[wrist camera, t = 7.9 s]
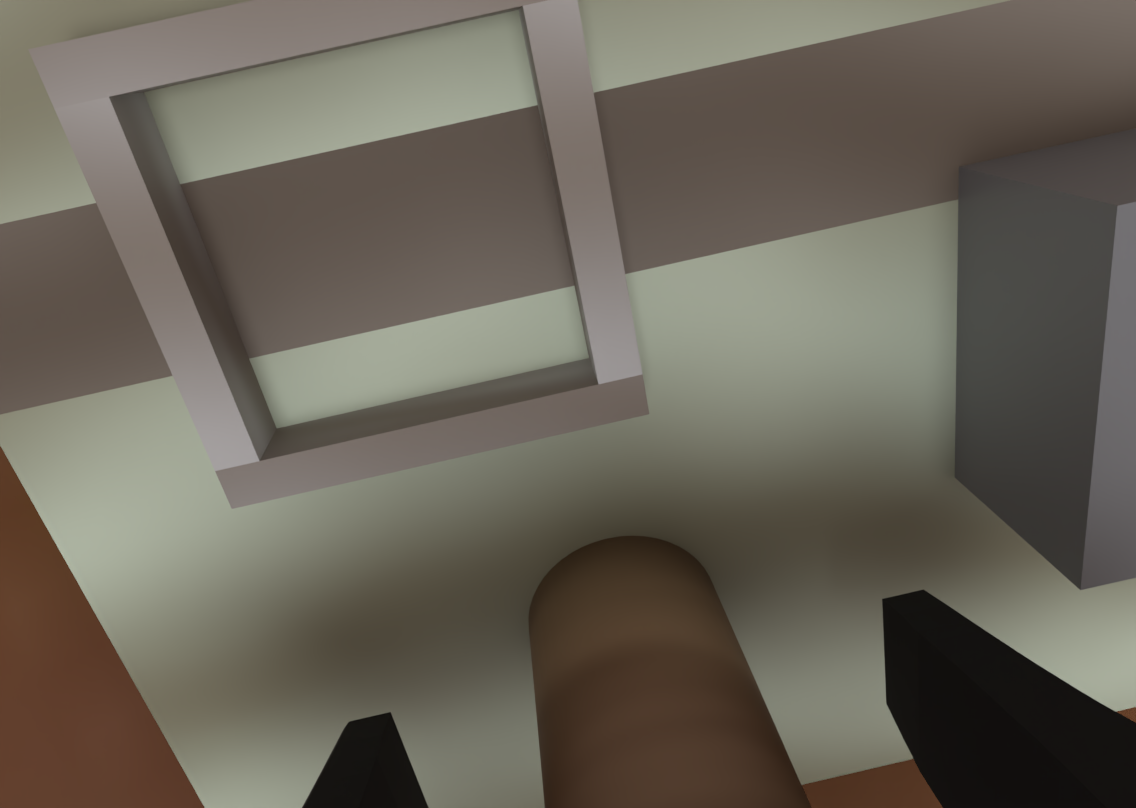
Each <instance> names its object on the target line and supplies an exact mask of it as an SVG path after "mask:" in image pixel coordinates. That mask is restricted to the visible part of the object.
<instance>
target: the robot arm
mask: <svg viewBox="0 0 1136 808" xmlns="http://www.w3.org/2000/svg"><path fill="white" fill-rule="evenodd" d="M882 607H883V632H884V658H885V683H886V704H887V706H888V708H889V710H890V712H891V714H892V716H893V718H894V721H895V723H896V725H897V727H898V729H899V731H900V733H901V735H902V737H903V739H904V741H905V743H906V745H907V747H908V749H909V751H910V753H911V755H912V757H913V759H914V761H915V763H916V764H917V766H918V768H919V770H920V772H921V774H922V775H923V777H924V778H925V780H926V782H927V783H928V785H929V786H930V788H931V790H932V791H933V793H934V794H935V796H936V797H937V799H938V800H939V802H940V803H941V805H942V807H943V808H1136V723H1135V722H1133V721H1131V720H1130V719H1128V718H1126V717H1124V716H1122V715H1121V714H1119V713H1117V712H1115V711H1114V710H1112V709H1110V708H1108V707H1106V706H1105V705H1103V704H1101V703H1099V702H1098V701H1096V700H1094V699H1093V698H1091V697H1089V696H1088V695H1086V694H1084V693H1083V692H1081V691H1079V690H1078V689H1076V688H1074V687H1073V686H1071V685H1070V684H1068V683H1066V682H1065V681H1063V680H1062V679H1060V678H1058V677H1057V676H1055V675H1054V674H1052V673H1050V672H1049V671H1047V670H1046V669H1044V668H1042V667H1041V666H1039V665H1038V664H1036V663H1034V662H1033V661H1031V660H1030V659H1028V658H1027V657H1025V656H1023V655H1022V654H1020V653H1019V652H1017V651H1016V650H1014V649H1013V648H1011V647H1010V646H1008V645H1007V644H1005V643H1004V642H1002V641H1000V640H999V639H997V638H996V637H994V636H993V635H991V634H990V633H988V632H987V631H985V630H984V629H982V628H981V627H979V626H978V625H976V624H975V623H973V622H972V621H970V620H969V619H967V618H966V617H964V616H963V615H961V614H960V613H958V612H957V611H955V610H954V609H952V608H951V607H949V606H948V605H946V604H945V603H943V602H942V601H940V600H939V599H937V598H936V597H934V596H933V595H931V594H930V593H928V592H927V591H925V590H924V589H923V590H919V591H914V592H910V593H906V594H901V595H897V596H893V597H888V598H884V599H882ZM302 808H429V807H428V805H427V802H426V800H425V797H424V795H423V792H422V790H421V787H420V785H419V782H418V780H417V777H416V775H415V772H414V770H413V767H412V765H411V762H410V760H409V757H408V755H407V752H406V750H405V747H404V745H403V742H402V739H401V737H400V734H399V732H398V729H397V727H396V724H395V722H394V719H393V717H392V714H391V712H388V713H384V714H380V715H375V716H371V717H366V718H362V719H358V720H353V721H349V722H348V724H347V725H346V726H345V728H344V729H343V731H342V733H341V735H340V737H339V739H338V741H337V743H336V745H335V746H334V748H333V750H332V752H331V754H330V756H329V758H328V760H327V762H326V764H325V766H324V768H323V769H322V771H321V773H320V775H319V777H318V779H317V781H316V783H315V785H314V786H313V788H312V790H311V792H310V794H309V796H308V798H307V799H306V801H305V803H304V805H303V807H302Z"/></svg>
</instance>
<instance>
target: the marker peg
mask: <svg viewBox="0 0 1136 808" xmlns="http://www.w3.org/2000/svg"><path fill="white" fill-rule="evenodd" d="M528 619H529V636H530V648H531V659H532V670H533V681H534V693H535V704H536V715H537V726H538V737H539V749H540V760H541V771H542V782H543V794H544V805H545V808H811V806H810V803H809V801H808V799H807V796H806V794H805V792H804V790H803V787H802V785H801V783H800V781H799V778H798V776H797V774H796V771H795V769H794V767H793V765H792V762H791V760H790V758H789V756H788V753H787V751H786V749H785V747H784V744H783V742H782V740H781V737H780V735H779V733H778V731H777V728H776V726H775V724H774V722H773V719H772V717H771V715H770V712H769V710H768V708H767V706H766V703H765V701H764V699H763V697H762V694H761V692H760V690H759V688H758V685H757V683H756V681H755V678H754V676H753V674H752V672H751V669H750V667H749V665H748V663H747V660H746V658H745V656H744V653H743V651H742V649H741V647H740V644H739V642H738V640H737V638H736V635H735V633H734V631H733V629H732V626H731V624H730V622H729V619H728V617H727V615H726V613H725V610H724V608H723V606H722V604H721V601H720V599H719V597H718V594H717V592H716V590H715V588H714V585H713V583H712V581H711V579H710V576H709V575H708V573H707V571H706V570H705V568H704V567H703V566H702V565H701V563H700V562H699V561H698V560H697V559H696V558H695V557H693V556H692V555H691V554H690V553H689V552H687V551H685V550H684V549H682V548H681V547H679V546H677V545H675V544H672V543H670V542H667V541H664V540H661V539H658V538H652V537H646V536H619V537H613V538H607V539H603V540H600V541H596V542H593V543H591V544H588V545H586V546H583V547H581V548H579V549H578V550H576V551H574V552H572V553H570V554H569V555H568V556H566V557H565V558H563V559H562V560H561V561H559V562H558V563H557V564H556V565H555V566H554V567H553V568H552V569H551V570H550V571H549V572H548V573H547V575H546V576H545V577H544V578H543V580H542V581H541V583H540V584H539V586H538V587H537V590H536V592H535V594H534V596H533V599H532V602H531V605H530V610H529V617H528Z"/></svg>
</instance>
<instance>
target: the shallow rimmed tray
mask: <svg viewBox="0 0 1136 808" xmlns="http://www.w3.org/2000/svg"><path fill="white" fill-rule="evenodd" d="M1131 129H1136V0H0V446H1V448H2V449H3V451H4V453H5V455H6V456H7V458H8V460H9V462H10V463H11V465H12V467H13V469H14V471H15V472H16V474H17V476H18V478H19V479H20V481H21V483H22V485H23V486H24V488H25V490H26V492H27V494H28V495H29V497H30V499H31V501H32V502H33V504H34V506H35V508H36V510H37V511H38V513H39V515H40V517H41V518H42V520H43V522H44V524H45V525H46V527H47V529H48V531H49V533H50V534H51V536H52V538H53V540H54V541H55V543H56V545H57V547H58V549H59V550H60V552H61V554H62V556H63V557H64V559H65V561H66V563H67V564H68V566H69V568H70V570H71V572H72V573H73V575H74V577H75V579H76V580H77V582H78V584H79V586H80V587H81V589H82V591H83V593H84V595H85V596H86V598H87V600H88V602H89V603H90V605H91V607H92V609H93V611H94V612H95V614H96V616H97V618H98V619H99V621H100V623H101V625H102V626H103V628H104V630H105V632H106V634H107V635H108V637H109V639H110V641H111V642H112V644H113V646H114V648H115V649H116V651H117V653H118V655H119V657H120V658H121V660H122V662H123V664H124V665H125V667H126V669H127V671H128V673H129V674H130V676H131V678H132V680H133V681H134V683H135V685H136V687H137V688H138V690H139V692H140V694H141V696H142V697H143V699H144V701H145V703H146V704H147V706H148V708H149V710H150V711H151V713H152V715H153V717H154V719H155V720H156V722H157V724H158V726H159V727H160V729H161V731H162V733H163V735H164V736H165V738H166V740H167V742H168V743H169V745H170V747H171V749H172V750H173V752H174V754H175V756H176V758H177V759H178V761H179V763H180V765H181V766H182V768H183V770H184V772H185V773H186V775H187V777H188V779H189V781H190V782H191V784H192V786H193V788H194V789H195V791H196V793H197V795H198V797H199V798H200V800H201V802H202V804H203V805H204V807H205V808H302V807H303V805H304V803H305V801H306V799H307V798H308V796H309V794H310V792H311V790H312V788H313V786H314V785H315V783H316V781H317V779H318V777H319V775H320V773H321V771H322V769H323V768H324V766H325V764H326V762H327V760H328V758H329V756H330V754H331V752H332V750H333V748H334V746H335V745H336V743H337V741H338V739H339V737H340V735H341V733H342V731H343V729H344V728H345V726H346V725H347V724H348V722H349V721H353V720H358V719H362V718H366V717H371V716H375V715H380V714H384V713H388V712H391V714H392V717H393V719H394V722H395V724H396V727H397V729H398V732H399V734H400V737H401V739H402V742H403V745H404V747H405V750H406V752H407V755H408V757H409V760H410V762H411V765H412V767H413V770H414V772H415V775H416V777H417V780H418V782H419V785H420V787H421V790H422V792H423V795H424V797H425V800H426V802H427V805H428V807H429V808H545V805H544V794H543V782H542V771H541V760H540V749H539V737H538V726H537V715H536V704H535V693H534V681H533V670H532V659H531V648H530V636H529V619H528V617H529V610H530V605H531V602H532V599H533V596H534V594H535V592H536V590H537V587H538V586H539V584H540V583H541V581H542V580H543V578H544V577H545V576H546V575H547V573H548V572H549V571H550V570H551V569H552V568H553V567H554V566H555V565H556V564H557V563H558V562H559V561H561V560H562V559H563V558H565V557H566V556H568V555H569V554H570V553H572V552H574V551H576V550H578V549H579V548H581V547H583V546H586V545H588V544H591V543H593V542H596V541H600V540H603V539H607V538H613V537H619V536H646V537H652V538H658V539H661V540H664V541H667V542H670V543H672V544H675V545H677V546H679V547H681V548H682V549H684V550H685V551H687V552H689V553H690V554H691V555H692V556H693V557H695V558H696V559H697V560H698V561H699V562H700V563H701V565H702V566H703V567H704V568H705V570H706V571H707V573H708V575H709V576H710V579H711V581H712V583H713V585H714V588H715V590H716V592H717V594H718V597H719V599H720V601H721V604H722V606H723V608H724V610H725V613H726V615H727V617H728V619H729V622H730V624H731V626H732V629H733V631H734V633H735V635H736V638H737V640H738V642H739V644H740V647H741V649H742V651H743V653H744V656H745V658H746V660H747V663H748V665H749V667H750V669H751V672H752V674H753V676H754V678H755V681H756V683H757V685H758V688H759V690H760V692H761V694H762V697H763V699H764V701H765V703H766V706H767V708H768V710H769V712H770V715H771V717H772V719H773V722H774V724H775V726H776V728H777V731H778V733H779V735H780V737H781V740H782V742H783V744H784V747H785V749H786V751H787V753H788V756H789V758H790V760H791V762H792V765H793V767H794V769H795V771H796V774H797V776H798V778H799V781H800V783H801V785H803V784H807V783H812V782H816V781H820V780H825V779H829V778H833V777H837V776H842V775H846V774H850V773H855V772H859V771H863V770H867V769H872V768H876V767H880V766H884V765H889V764H893V763H897V762H902V761H906V760H910V759H913V757H912V755H911V753H910V751H909V749H908V747H907V745H906V743H905V741H904V739H903V737H902V735H901V733H900V731H899V729H898V727H897V725H896V723H895V721H894V718H893V716H892V714H891V712H890V710H889V708H888V706H887V704H886V683H885V658H884V632H883V607H882V599H884V598H888V597H893V596H897V595H901V594H906V593H910V592H914V591H919V590H923V589H924V590H925V591H927V592H928V593H930V594H931V595H933V596H934V597H936V598H937V599H939V600H940V601H942V602H943V603H945V604H946V605H948V606H949V607H951V608H952V609H954V610H955V611H957V612H958V613H960V614H961V615H963V616H964V617H966V618H967V619H969V620H970V621H972V622H973V623H975V624H976V625H978V626H979V627H981V628H982V629H984V630H985V631H987V632H988V633H990V634H991V635H993V636H994V637H996V638H997V639H999V640H1000V641H1002V642H1004V643H1005V644H1007V645H1008V646H1010V647H1011V648H1013V649H1014V650H1016V651H1017V652H1019V653H1020V654H1022V655H1023V656H1025V657H1027V658H1028V659H1030V660H1031V661H1033V662H1034V663H1036V664H1038V665H1039V666H1041V667H1042V668H1044V669H1046V670H1047V671H1049V672H1050V673H1052V674H1054V675H1055V676H1057V677H1058V678H1060V679H1062V680H1063V681H1065V682H1066V683H1068V684H1070V685H1071V686H1073V687H1074V688H1076V689H1078V690H1079V691H1081V692H1083V693H1084V694H1086V695H1088V696H1089V697H1091V698H1093V699H1094V700H1096V701H1098V702H1099V703H1101V704H1103V705H1105V706H1106V707H1108V708H1110V709H1112V710H1114V711H1115V712H1116V711H1120V710H1124V709H1128V708H1133V707H1136V578H1133V579H1128V580H1124V581H1119V582H1115V583H1111V584H1106V585H1102V586H1097V587H1093V588H1088V589H1084V590H1080V589H1079V588H1077V587H1076V586H1075V585H1074V584H1073V583H1072V582H1071V581H1070V580H1068V579H1067V578H1066V577H1065V576H1064V575H1063V574H1062V573H1061V572H1060V571H1058V570H1057V569H1056V568H1055V567H1054V566H1053V565H1052V564H1051V563H1050V562H1048V561H1047V560H1046V559H1045V558H1044V557H1043V556H1042V555H1041V554H1039V553H1038V552H1037V551H1036V550H1035V549H1034V548H1033V547H1032V546H1031V545H1029V544H1028V543H1027V542H1026V541H1025V540H1024V539H1023V538H1022V537H1021V536H1019V535H1018V534H1017V533H1016V532H1015V531H1014V530H1013V529H1012V528H1011V527H1009V526H1008V525H1007V524H1006V523H1005V522H1004V521H1003V520H1002V519H1000V518H999V517H998V516H997V515H996V514H995V513H994V512H993V511H992V510H990V509H989V508H988V507H987V506H986V505H985V504H984V503H983V502H982V501H980V500H979V499H978V498H977V497H976V496H975V495H974V494H973V493H971V492H970V491H969V490H968V489H967V488H966V487H965V486H964V485H963V484H961V483H960V482H959V481H958V480H957V479H956V478H955V414H956V339H957V263H958V188H959V167H960V166H965V165H970V164H974V163H979V162H984V161H988V160H993V159H997V158H1002V157H1007V156H1011V155H1016V154H1020V153H1025V152H1030V151H1034V150H1039V149H1044V148H1048V147H1053V146H1057V145H1062V144H1067V143H1071V142H1076V141H1081V140H1085V139H1090V138H1094V137H1099V136H1104V135H1108V134H1113V133H1117V132H1122V131H1127V130H1131Z"/></svg>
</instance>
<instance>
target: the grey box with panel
mask: <svg viewBox="0 0 1136 808" xmlns="http://www.w3.org/2000/svg"><path fill="white" fill-rule="evenodd" d="M955 478H956V479H957V480H958V481H959V482H960V483H961V484H963V485H964V486H965V487H966V488H967V489H968V490H969V491H970V492H971V493H973V494H974V495H975V496H976V497H977V498H978V499H979V500H980V501H982V502H983V503H984V504H985V505H986V506H987V507H988V508H989V509H990V510H992V511H993V512H994V513H995V514H996V515H997V516H998V517H999V518H1000V519H1002V520H1003V521H1004V522H1005V523H1006V524H1007V525H1008V526H1009V527H1011V528H1012V529H1013V530H1014V531H1015V532H1016V533H1017V534H1018V535H1019V536H1021V537H1022V538H1023V539H1024V540H1025V541H1026V542H1027V543H1028V544H1029V545H1031V546H1032V547H1033V548H1034V549H1035V550H1036V551H1037V552H1038V553H1039V554H1041V555H1042V556H1043V557H1044V558H1045V559H1046V560H1047V561H1048V562H1050V563H1051V564H1052V565H1053V566H1054V567H1055V568H1056V569H1057V570H1058V571H1060V572H1061V573H1062V574H1063V575H1064V576H1065V577H1066V578H1067V579H1068V580H1070V581H1071V582H1072V583H1073V584H1074V585H1075V586H1076V587H1077V588H1079V589H1080V590H1084V589H1088V588H1093V587H1097V586H1102V585H1106V584H1111V583H1115V582H1119V581H1124V580H1128V579H1133V578H1136V129H1131V130H1127V131H1122V132H1117V133H1113V134H1108V135H1104V136H1099V137H1094V138H1090V139H1085V140H1081V141H1076V142H1071V143H1067V144H1062V145H1057V146H1053V147H1048V148H1044V149H1039V150H1034V151H1030V152H1025V153H1020V154H1016V155H1011V156H1007V157H1002V158H997V159H993V160H988V161H984V162H979V163H974V164H970V165H965V166H960V167H959V188H958V263H957V339H956V414H955Z"/></svg>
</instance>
